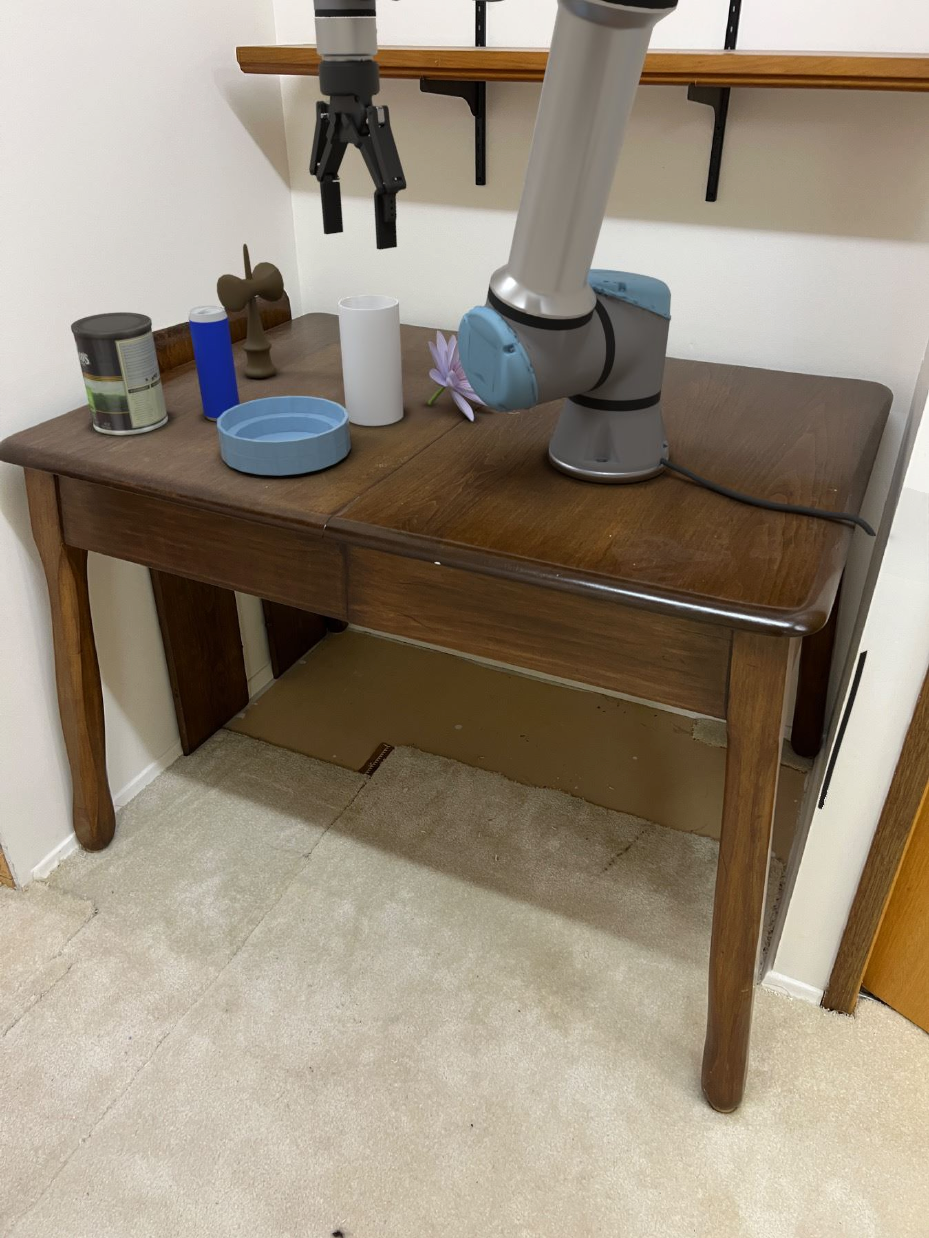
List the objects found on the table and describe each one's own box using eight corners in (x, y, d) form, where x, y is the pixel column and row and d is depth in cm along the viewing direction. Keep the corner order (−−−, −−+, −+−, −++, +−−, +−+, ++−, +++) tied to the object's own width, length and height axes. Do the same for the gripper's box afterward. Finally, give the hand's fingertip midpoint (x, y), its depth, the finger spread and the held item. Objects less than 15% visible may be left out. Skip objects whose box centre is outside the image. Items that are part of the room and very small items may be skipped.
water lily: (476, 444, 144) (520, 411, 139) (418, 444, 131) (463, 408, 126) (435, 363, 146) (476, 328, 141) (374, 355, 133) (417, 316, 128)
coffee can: (95, 440, 127) (71, 336, 120) (92, 415, 136) (69, 316, 128) (172, 430, 130) (154, 328, 123) (165, 406, 139) (147, 309, 131)
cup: (401, 426, 131) (396, 310, 123) (342, 426, 132) (333, 309, 123) (405, 406, 138) (401, 294, 130) (350, 405, 139) (341, 294, 130)
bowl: (371, 463, 121) (369, 425, 118) (246, 490, 114) (241, 451, 111) (321, 422, 133) (318, 388, 130) (206, 445, 126) (200, 409, 123)
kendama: (294, 370, 153) (281, 240, 142) (254, 386, 146) (237, 251, 135) (266, 364, 156) (251, 236, 145) (226, 380, 149) (207, 247, 138)
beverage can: (222, 407, 138) (206, 303, 130) (248, 413, 136) (234, 308, 128) (196, 418, 134) (179, 311, 126) (223, 425, 132) (207, 317, 124)
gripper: (431, 60, 110) (435, 251, 121) (323, 56, 127) (335, 224, 138) (377, 62, 106) (386, 259, 117) (273, 57, 123) (290, 230, 134)
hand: (359, 240), depth 128 cm, fingers open, 13 cm apart
